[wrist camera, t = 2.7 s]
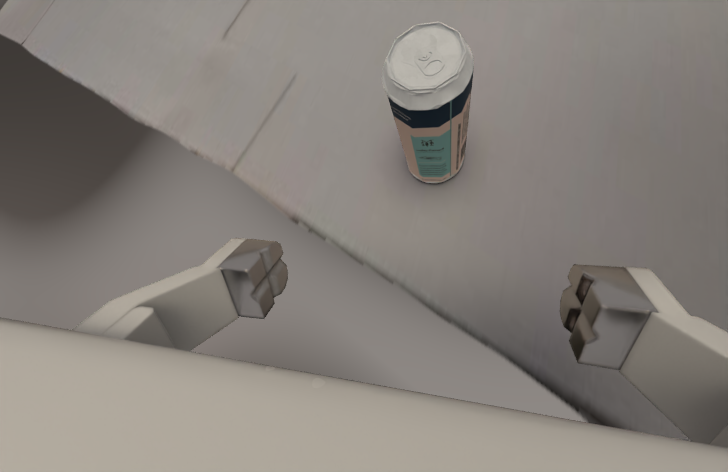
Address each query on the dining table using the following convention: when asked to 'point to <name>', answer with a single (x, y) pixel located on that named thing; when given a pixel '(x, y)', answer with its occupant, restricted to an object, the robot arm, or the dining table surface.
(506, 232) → the dining table surface
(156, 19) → the dining table surface
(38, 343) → the robot arm
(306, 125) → the dining table surface
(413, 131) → the coffee can
